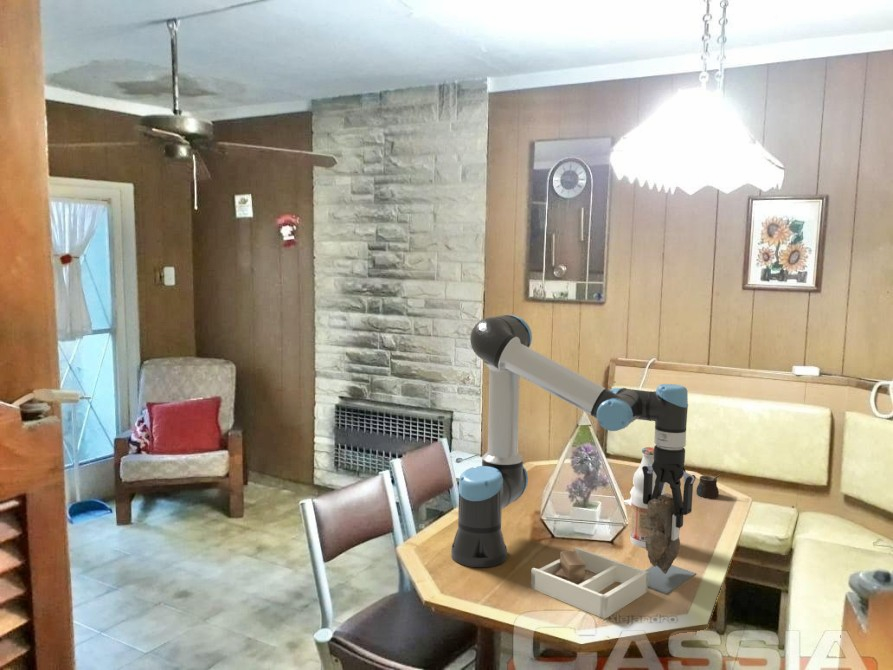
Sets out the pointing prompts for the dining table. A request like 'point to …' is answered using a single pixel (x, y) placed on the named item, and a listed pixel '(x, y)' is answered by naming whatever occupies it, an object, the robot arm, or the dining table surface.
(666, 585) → the mat
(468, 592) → the dining table surface
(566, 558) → the offcut block upper
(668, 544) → the brown rock
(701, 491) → the mate gourd
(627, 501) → the white creature statuette
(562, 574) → the offcut block lower
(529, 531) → the dining table surface
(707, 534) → the dining table surface
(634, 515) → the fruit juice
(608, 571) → the tray
